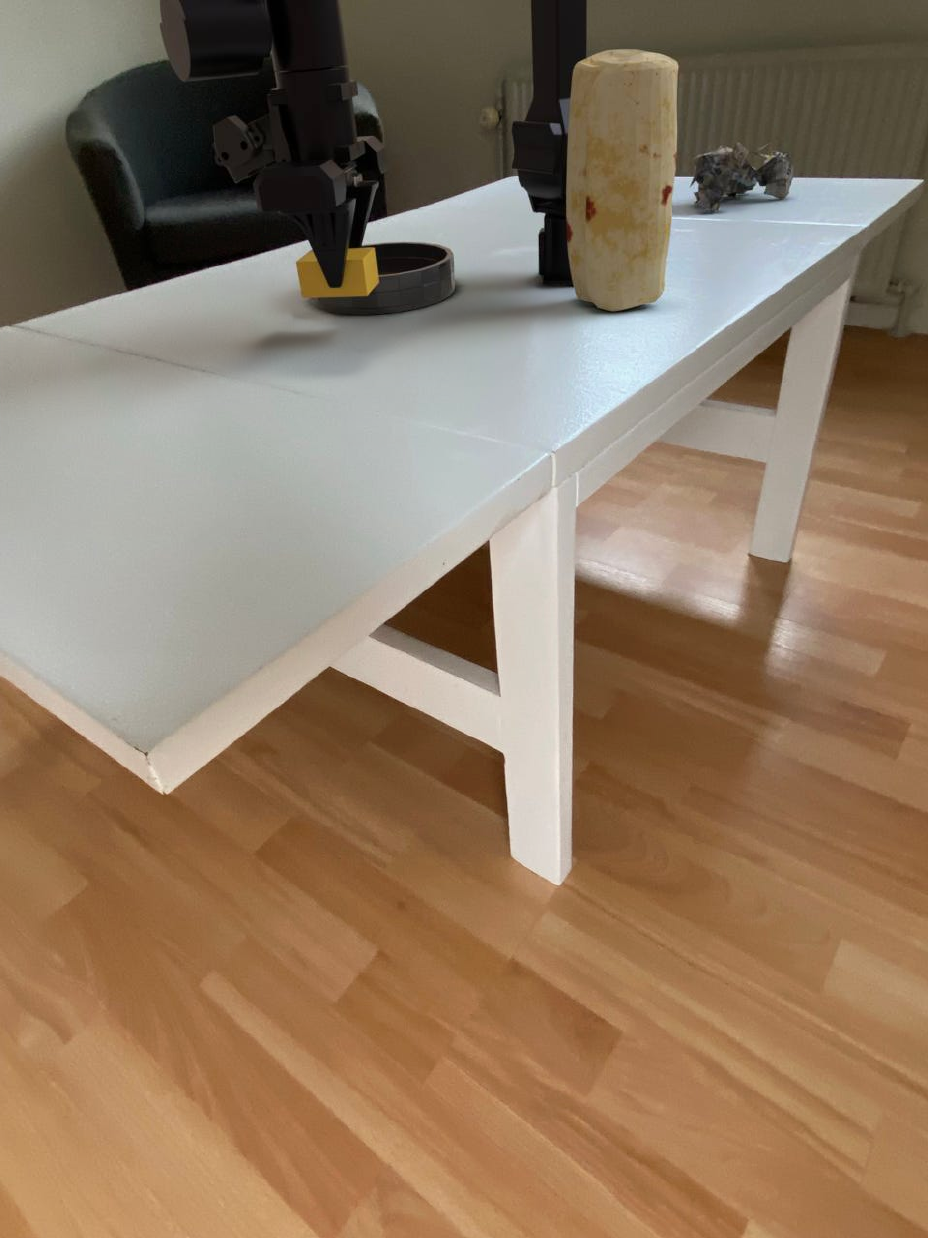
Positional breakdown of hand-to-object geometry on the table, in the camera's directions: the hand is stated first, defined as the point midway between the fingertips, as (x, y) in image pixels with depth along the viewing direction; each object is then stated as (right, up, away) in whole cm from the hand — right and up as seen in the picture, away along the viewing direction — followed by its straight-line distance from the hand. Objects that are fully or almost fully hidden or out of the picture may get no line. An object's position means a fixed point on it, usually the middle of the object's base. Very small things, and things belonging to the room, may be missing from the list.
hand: (342, 280), depth 72 cm
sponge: (0, -1, +1) cm, 1 cm away
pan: (+2, +4, +14) cm, 15 cm away
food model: (+25, 0, +6) cm, 26 cm away
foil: (+49, +27, +40) cm, 69 cm away
